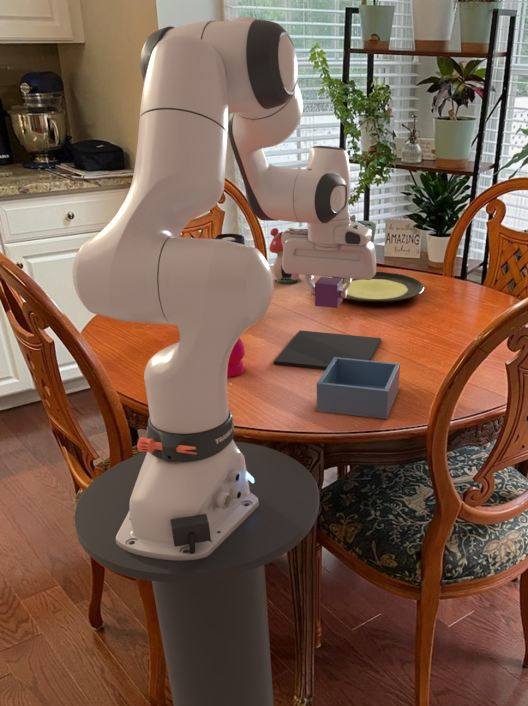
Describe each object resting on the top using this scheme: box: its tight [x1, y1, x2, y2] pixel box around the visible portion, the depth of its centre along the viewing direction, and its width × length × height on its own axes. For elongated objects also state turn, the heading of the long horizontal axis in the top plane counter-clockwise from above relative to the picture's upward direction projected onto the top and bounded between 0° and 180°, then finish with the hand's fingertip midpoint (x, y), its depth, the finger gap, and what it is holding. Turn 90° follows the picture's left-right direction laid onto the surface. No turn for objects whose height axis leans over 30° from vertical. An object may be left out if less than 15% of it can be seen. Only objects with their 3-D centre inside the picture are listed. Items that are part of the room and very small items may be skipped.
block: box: [314, 276, 344, 309], centre depth 155 cm, size 5×5×5 cm
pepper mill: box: [227, 337, 246, 378], centre depth 147 cm, size 7×7×20 cm
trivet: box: [273, 330, 382, 371], centre depth 162 cm, size 20×20×1 cm
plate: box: [331, 271, 425, 304], centre depth 199 cm, size 28×28×2 cm
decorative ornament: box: [268, 227, 301, 285], centre depth 205 cm, size 9×7×15 cm
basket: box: [316, 357, 401, 420], centre depth 139 cm, size 14×14×6 cm
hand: (329, 296), depth 155 cm, fingers closed on block, 5 cm apart
